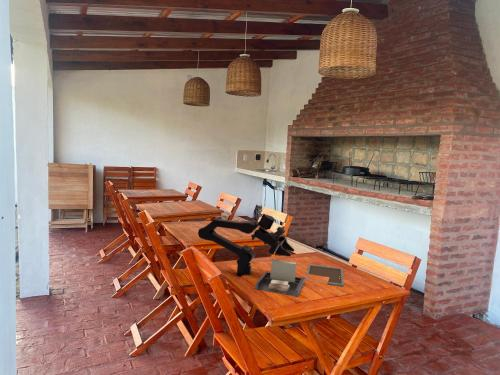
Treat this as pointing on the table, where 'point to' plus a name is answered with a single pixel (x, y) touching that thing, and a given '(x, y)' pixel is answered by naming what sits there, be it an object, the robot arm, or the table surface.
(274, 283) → the offcut top
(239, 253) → the robot arm
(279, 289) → the offcut bottom
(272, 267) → the tall sheet
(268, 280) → the tray
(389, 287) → the table surface
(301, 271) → the table surface
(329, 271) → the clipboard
